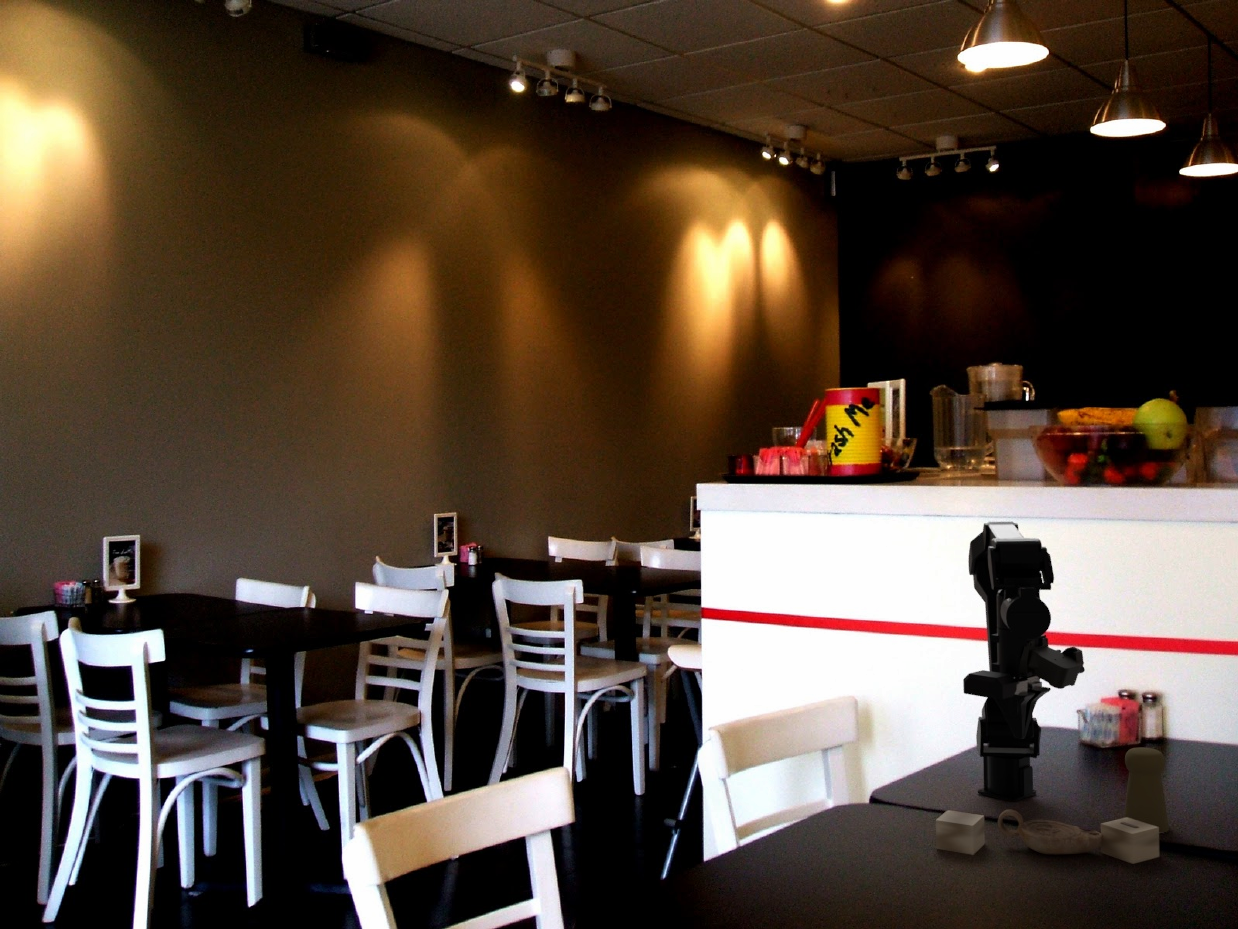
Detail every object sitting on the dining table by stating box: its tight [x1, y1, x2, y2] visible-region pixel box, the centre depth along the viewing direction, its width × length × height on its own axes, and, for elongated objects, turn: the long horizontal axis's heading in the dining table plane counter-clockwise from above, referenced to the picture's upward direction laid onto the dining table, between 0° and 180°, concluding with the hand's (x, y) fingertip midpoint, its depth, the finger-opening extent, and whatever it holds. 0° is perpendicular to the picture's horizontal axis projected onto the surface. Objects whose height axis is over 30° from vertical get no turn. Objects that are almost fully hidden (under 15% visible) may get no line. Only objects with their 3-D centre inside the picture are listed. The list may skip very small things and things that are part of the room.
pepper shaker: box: [1122, 746, 1170, 833], centre depth 173 cm, size 6×6×11 cm
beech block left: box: [935, 809, 986, 856], centre depth 167 cm, size 5×5×4 cm
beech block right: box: [1100, 817, 1160, 865], centre depth 162 cm, size 5×5×4 cm
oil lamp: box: [997, 809, 1103, 855], centre depth 164 cm, size 13×8×5 cm, turn 65°
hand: (1019, 738), depth 174 cm, fingers closed
